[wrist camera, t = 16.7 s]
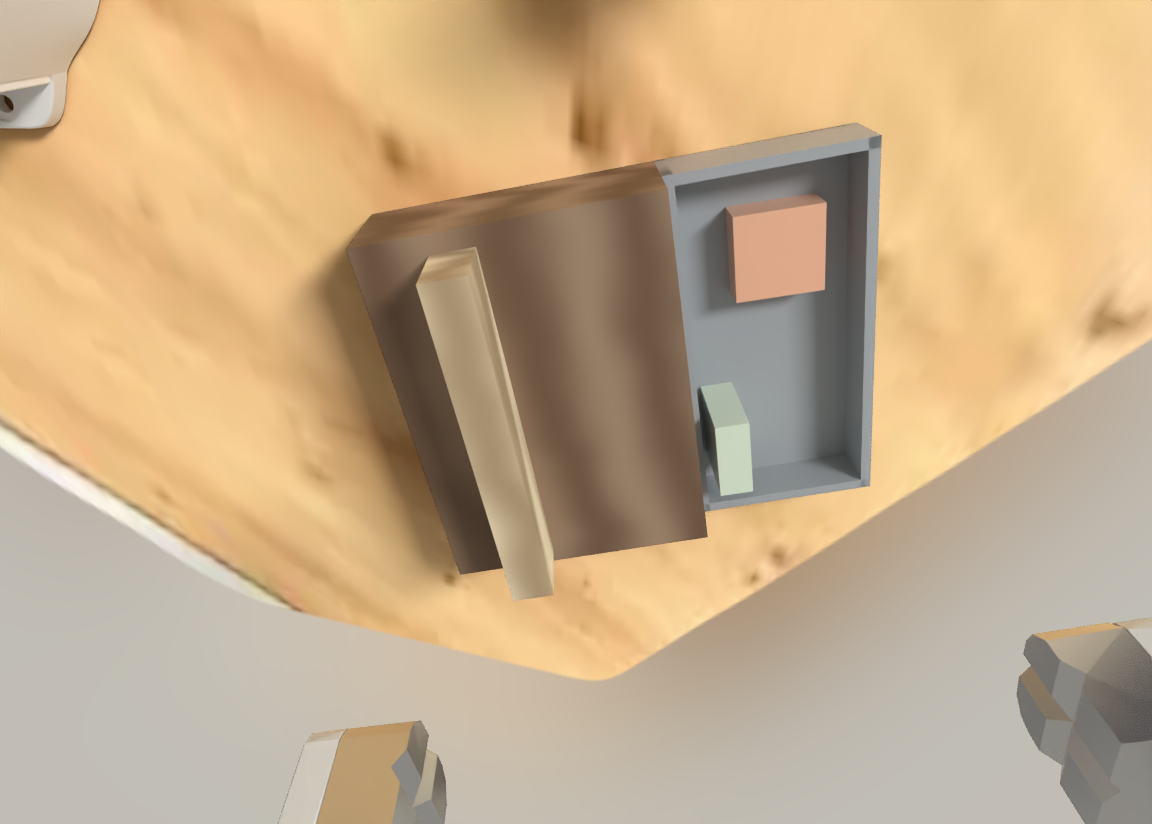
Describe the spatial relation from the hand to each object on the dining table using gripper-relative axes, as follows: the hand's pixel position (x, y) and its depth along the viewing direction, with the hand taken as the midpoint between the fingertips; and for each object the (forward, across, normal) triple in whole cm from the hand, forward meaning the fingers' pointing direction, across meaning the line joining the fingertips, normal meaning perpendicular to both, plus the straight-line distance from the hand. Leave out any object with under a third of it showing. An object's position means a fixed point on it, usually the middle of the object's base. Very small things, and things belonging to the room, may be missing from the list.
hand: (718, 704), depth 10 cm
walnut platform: (+35, +5, +12) cm, 37 cm away
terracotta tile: (+33, -9, +7) cm, 34 cm away
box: (+35, -8, +12) cm, 38 cm away
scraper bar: (+29, +8, +12) cm, 32 cm away
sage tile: (+32, -4, +18) cm, 37 cm away
